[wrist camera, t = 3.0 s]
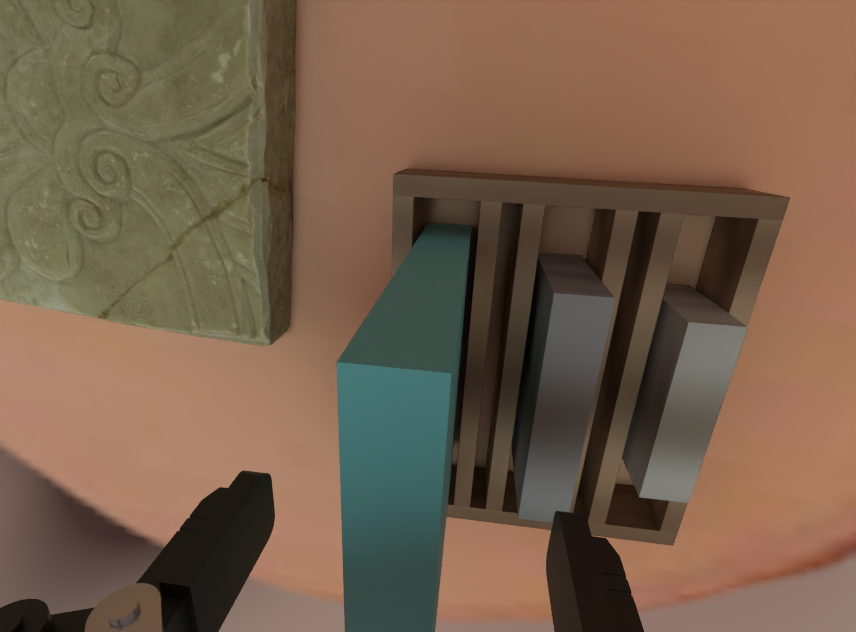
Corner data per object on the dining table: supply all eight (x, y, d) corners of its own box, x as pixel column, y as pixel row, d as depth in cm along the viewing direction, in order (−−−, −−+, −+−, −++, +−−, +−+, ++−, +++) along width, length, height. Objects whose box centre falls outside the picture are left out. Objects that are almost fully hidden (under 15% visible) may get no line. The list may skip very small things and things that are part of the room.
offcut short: (642, 281, 21) (688, 322, 16) (688, 284, 21) (748, 327, 16) (608, 427, 24) (639, 497, 19) (648, 431, 24) (688, 503, 19)
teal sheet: (428, 222, 21) (336, 362, 8) (471, 225, 21) (451, 373, 8) (418, 438, 25) (349, 753, 12) (453, 442, 25) (421, 767, 12)
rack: (406, 168, 20) (393, 173, 17) (745, 188, 19) (790, 197, 16) (397, 469, 26) (387, 508, 23) (652, 500, 25) (673, 545, 22)
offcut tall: (535, 251, 21) (554, 292, 15) (579, 254, 21) (615, 297, 15) (510, 432, 25) (518, 518, 19) (547, 436, 24) (566, 524, 19)
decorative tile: (293, 332, 24) (263, 362, 21) (-54, 262, 25) (-136, 281, 22) (317, -109, 17) (277, -168, 14) (-167, -182, 18) (-312, -254, 15)
